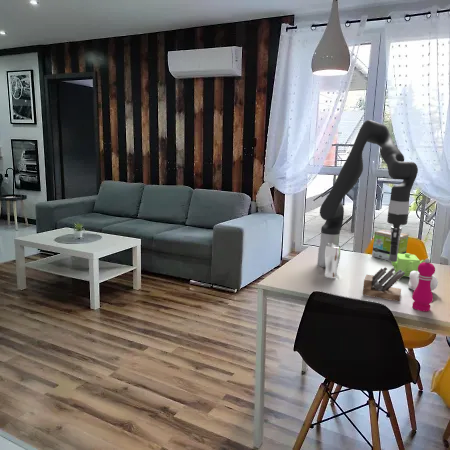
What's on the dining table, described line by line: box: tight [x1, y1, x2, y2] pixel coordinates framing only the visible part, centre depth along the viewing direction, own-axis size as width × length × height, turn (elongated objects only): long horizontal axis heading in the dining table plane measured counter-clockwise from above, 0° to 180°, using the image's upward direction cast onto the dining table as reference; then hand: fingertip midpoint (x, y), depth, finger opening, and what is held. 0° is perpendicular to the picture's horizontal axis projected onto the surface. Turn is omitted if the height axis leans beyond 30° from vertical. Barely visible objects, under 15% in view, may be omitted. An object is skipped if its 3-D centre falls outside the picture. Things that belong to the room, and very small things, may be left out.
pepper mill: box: [411, 258, 436, 312], centre depth 160 cm, size 7×7×20 cm
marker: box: [388, 235, 399, 262], centre depth 170 cm, size 3×3×12 cm
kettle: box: [386, 252, 425, 279], centre depth 201 cm, size 15×14×11 cm
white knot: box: [407, 271, 439, 292], centre depth 181 cm, size 11×12×9 cm
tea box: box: [371, 229, 409, 261], centre depth 231 cm, size 15×10×15 cm
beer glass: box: [323, 244, 341, 280], centre depth 195 cm, size 7×7×15 cm
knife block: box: [362, 266, 405, 302], centre depth 174 cm, size 15×9×11 cm, turn 65°
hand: (393, 253), depth 171 cm, fingers closed on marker, 3 cm apart
